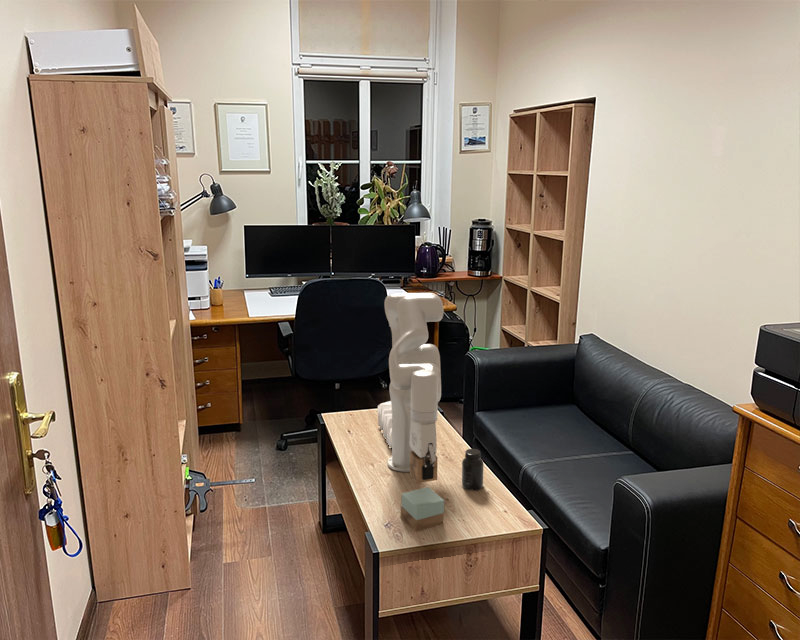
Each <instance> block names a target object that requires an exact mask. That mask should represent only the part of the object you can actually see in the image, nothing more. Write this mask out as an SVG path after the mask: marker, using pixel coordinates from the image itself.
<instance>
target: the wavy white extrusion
mask: <svg viewBox="0 0 800 640" xmlns="http://www.w3.org/2000/svg"><path fill="white" fill-rule="evenodd" d="M377 421H378V422H377V424H378V426H380V429H381V430H383V433H382V436H383V435H384V437H383V439H384V438H386V440H385V443H386V442H387V443H388V444H387V443H386V444H387V446H388V445H389V447H391V448H392V405H391V400H389V401H386V402H382V403H381V402H380V404H378V405H377ZM380 429H379V430H380ZM389 447H388V448H389ZM391 448H390V449H391Z"/></svg>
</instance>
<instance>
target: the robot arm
mask: <svg viewBox="0 0 800 640" xmlns="http://www.w3.org/2000/svg"><path fill="white" fill-rule="evenodd" d="M444 309H445V308H444V304H443V301H442V299H441V297H440V296H439V295H437V294H436V293H434V292H398V293H392V294H389V295H387V296H386V297H385V299H384V313H385V316H386V319H387V321H388V324H389V327H390V331H391V338H392V339H391V340H392V341H391V342H392V343H391V344H392V345H391V346H392V348H391V350H390V352H389V357H388V369H389V378H390V383H389V387H388V388H389V397H390V401H391V405H392V449H391V457H389V458H388V459H387V466H388V467H389V468H390V469H391V470H394V471H397V472H400V473H410V452H411V451H414V452H415V453H416V454H417V455H418V456H419V457H420V458H423V465H424V466H422V479H423V480H427V479H433V470H434V462H435V461H436V458H435V455H436V456H437V447H438V446H437V445H438V444H437V425H436V422H437V421H438V405H439V402H440V400H441V397H442V378H441V377H442V375H441V374H442V372H441V371H442V370H441V355H440V351H439V349H438V346H437V345H435V344H432V343H427V342H428V339H429V331H428V330H429V329H428V325H427V323H429V322H431V323H432V322H441V320H442V319H443V317H444V313H445V311H444ZM426 453H429V455H426ZM429 457H430V458H429ZM426 458H429V460H427V462H426Z"/></svg>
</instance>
